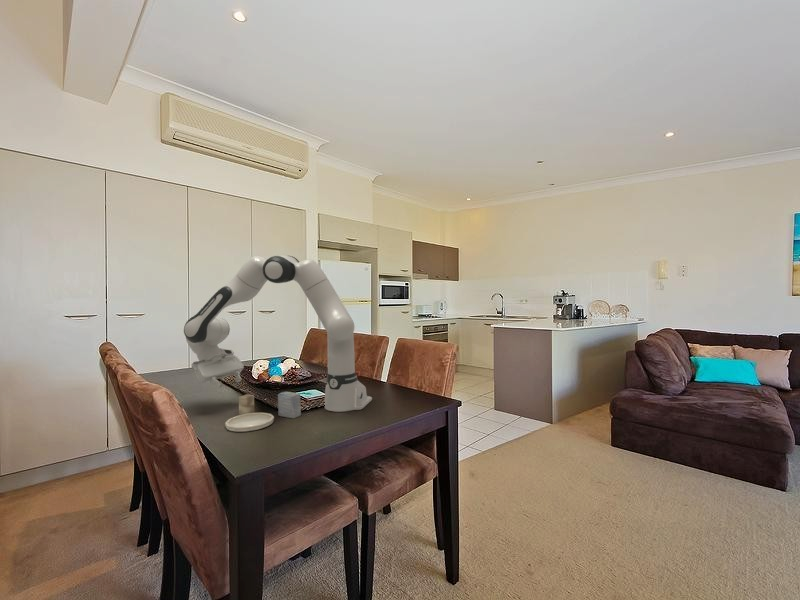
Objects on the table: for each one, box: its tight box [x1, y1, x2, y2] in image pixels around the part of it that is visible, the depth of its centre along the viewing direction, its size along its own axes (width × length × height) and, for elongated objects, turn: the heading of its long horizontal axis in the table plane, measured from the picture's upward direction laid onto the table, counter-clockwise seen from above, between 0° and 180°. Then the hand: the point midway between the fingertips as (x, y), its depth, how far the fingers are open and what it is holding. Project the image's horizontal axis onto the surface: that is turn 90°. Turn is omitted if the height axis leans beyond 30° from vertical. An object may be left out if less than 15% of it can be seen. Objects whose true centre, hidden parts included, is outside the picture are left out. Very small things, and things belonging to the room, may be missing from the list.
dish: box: [224, 412, 275, 433], centre depth 139 cm, size 16×16×2 cm
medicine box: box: [277, 391, 302, 419], centre depth 148 cm, size 8×4×9 cm, turn 59°
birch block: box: [238, 393, 255, 415], centre depth 152 cm, size 4×4×7 cm
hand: (230, 383), depth 155 cm, fingers open, 8 cm apart
